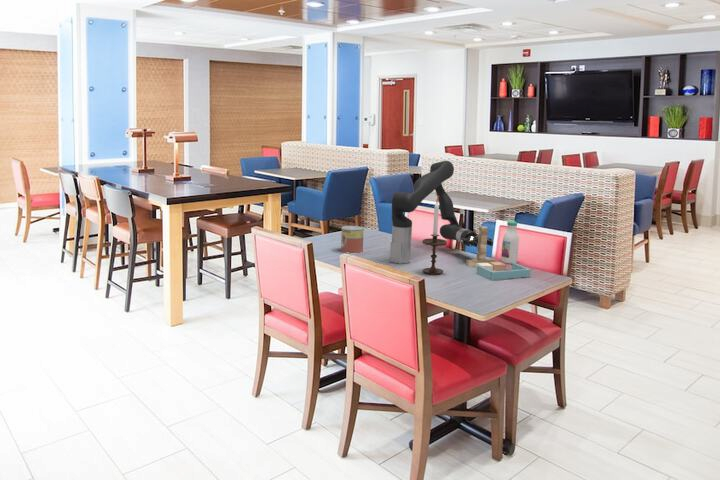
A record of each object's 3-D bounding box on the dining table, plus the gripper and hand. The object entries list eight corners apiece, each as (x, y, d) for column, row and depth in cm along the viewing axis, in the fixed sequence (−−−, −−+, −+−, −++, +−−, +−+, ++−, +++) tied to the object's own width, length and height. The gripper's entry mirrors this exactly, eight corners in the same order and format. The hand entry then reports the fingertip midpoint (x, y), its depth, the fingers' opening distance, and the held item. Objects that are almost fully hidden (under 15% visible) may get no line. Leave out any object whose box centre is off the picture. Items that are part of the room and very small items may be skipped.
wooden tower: (466, 265, 303) (468, 226, 300) (491, 263, 308) (494, 225, 305) (469, 266, 301) (472, 228, 297) (495, 264, 306) (498, 226, 302)
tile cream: (476, 269, 297) (476, 263, 297) (486, 268, 299) (487, 262, 298) (481, 272, 292) (482, 266, 291) (492, 271, 294) (492, 265, 293)
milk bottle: (514, 260, 316) (518, 220, 312) (518, 264, 309) (522, 223, 305) (499, 259, 316) (502, 220, 312) (503, 263, 309) (506, 222, 304)
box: (476, 272, 290) (477, 265, 289) (513, 270, 297) (514, 262, 296) (491, 280, 278) (492, 272, 278) (530, 277, 286) (530, 269, 285)
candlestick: (441, 269, 294) (445, 193, 287) (447, 275, 284) (452, 197, 277) (418, 269, 293) (422, 193, 285) (424, 275, 282) (428, 196, 275)
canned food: (337, 249, 327) (338, 226, 324) (357, 247, 332) (358, 225, 329) (346, 254, 317) (346, 230, 314) (366, 252, 322) (367, 229, 319)
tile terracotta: (489, 268, 300) (489, 262, 299) (499, 268, 301) (500, 261, 301) (494, 271, 295) (495, 265, 294) (505, 271, 296) (505, 264, 296)
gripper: (454, 230, 312) (471, 237, 297) (479, 229, 317) (498, 235, 302) (453, 245, 314) (470, 252, 299) (478, 243, 319) (496, 251, 304)
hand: (484, 244), depth 301 cm, fingers open, 8 cm apart
